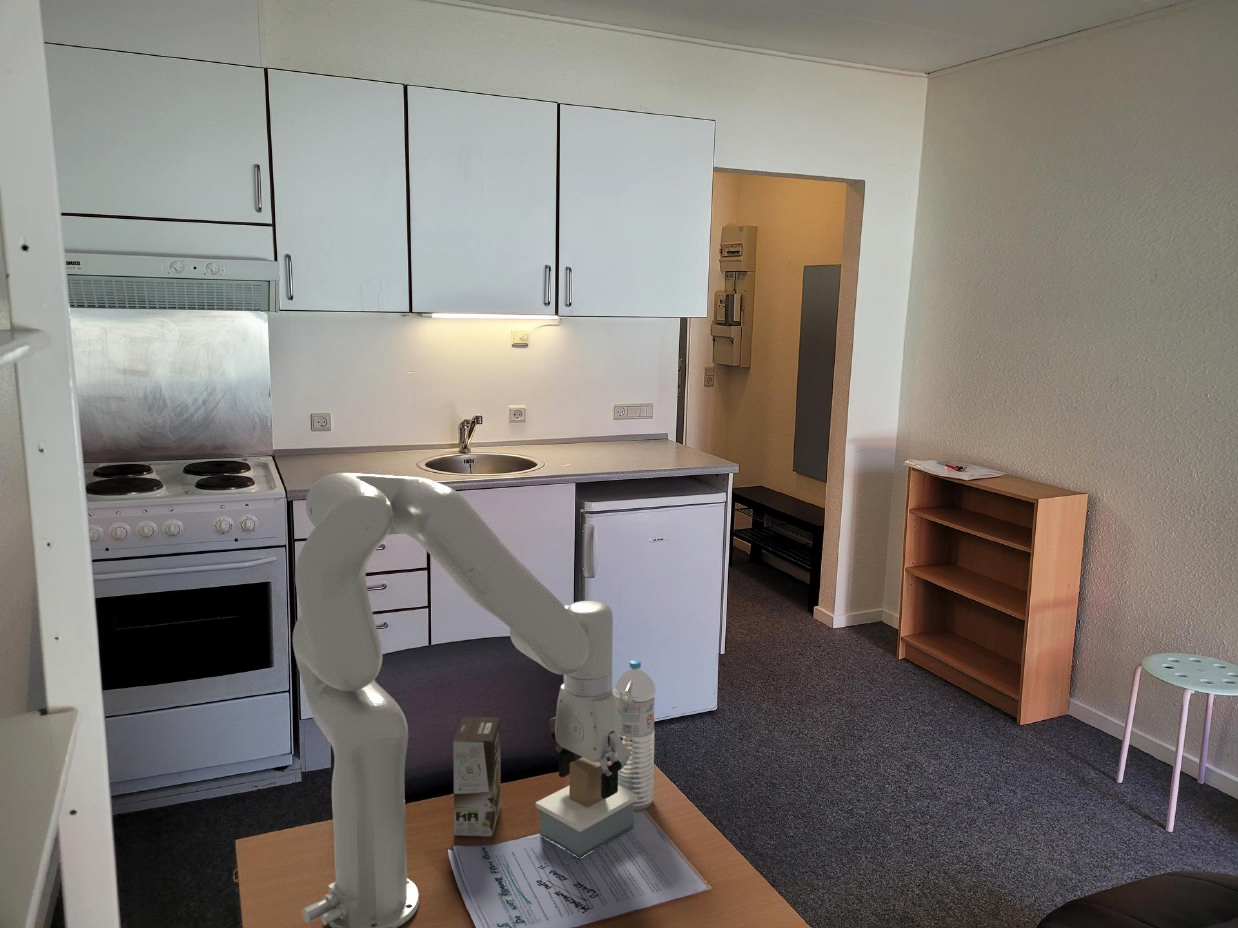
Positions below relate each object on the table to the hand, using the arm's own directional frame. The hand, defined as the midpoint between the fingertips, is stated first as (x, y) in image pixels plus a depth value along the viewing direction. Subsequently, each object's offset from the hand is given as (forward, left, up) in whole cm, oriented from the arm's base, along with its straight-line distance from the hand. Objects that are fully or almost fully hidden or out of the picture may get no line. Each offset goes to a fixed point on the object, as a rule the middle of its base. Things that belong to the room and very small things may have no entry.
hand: (587, 784), depth 146 cm
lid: (0, 0, -3) cm, 3 cm away
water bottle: (+12, +1, -8) cm, 15 cm away
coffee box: (-10, +15, -8) cm, 20 cm away
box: (0, 0, -8) cm, 8 cm away
